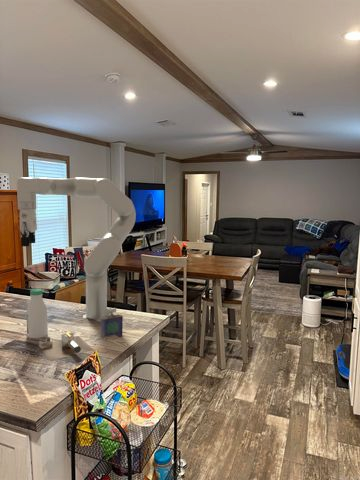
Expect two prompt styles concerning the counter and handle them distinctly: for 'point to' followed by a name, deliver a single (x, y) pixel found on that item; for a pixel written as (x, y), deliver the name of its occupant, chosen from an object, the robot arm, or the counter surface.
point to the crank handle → (69, 342)
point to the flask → (112, 325)
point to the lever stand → (56, 351)
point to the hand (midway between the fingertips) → (28, 244)
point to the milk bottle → (36, 315)
